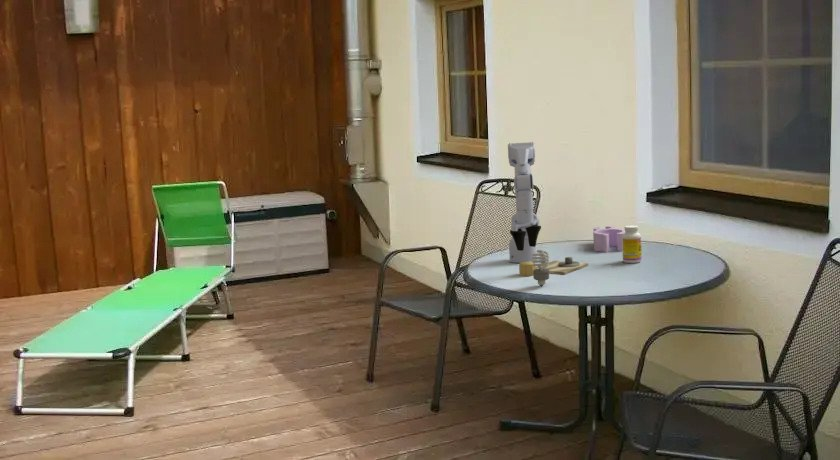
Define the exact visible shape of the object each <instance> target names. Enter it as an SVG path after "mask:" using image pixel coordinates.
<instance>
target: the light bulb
mask: <svg viewBox="0 0 840 460" xmlns="http://www.w3.org/2000/svg"><path fill="white" fill-rule="evenodd" d="M549 255H550V254H549V252H547V251H545V250H542V249H536V253H535V254H532V256H536V257H532V259H533V261H532V262H533V263H535V264H533V266H536V267H539V269H535V270H533V276H532V277H533V279H534V280H535V281H537V284H538V285H539V286H541V287H543V286H544V285H546V281H547V280H549V279H550V273H549V270H548V269H545V268H546V267H548V266H549V262H550V256H549ZM535 259H541V260H535ZM545 264H547V265H545ZM542 265H545V266H543V267H541V266H542Z"/></svg>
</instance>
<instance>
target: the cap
mask: <svg viewBox="0 0 840 460" xmlns="http://www.w3.org/2000/svg"><path fill="white" fill-rule="evenodd" d="M533 264H536V263H533V262H521V263H519V265H518V268H519V275H520V276H521V277H533V270H535V269H536V267H537V266H533Z"/></svg>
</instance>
